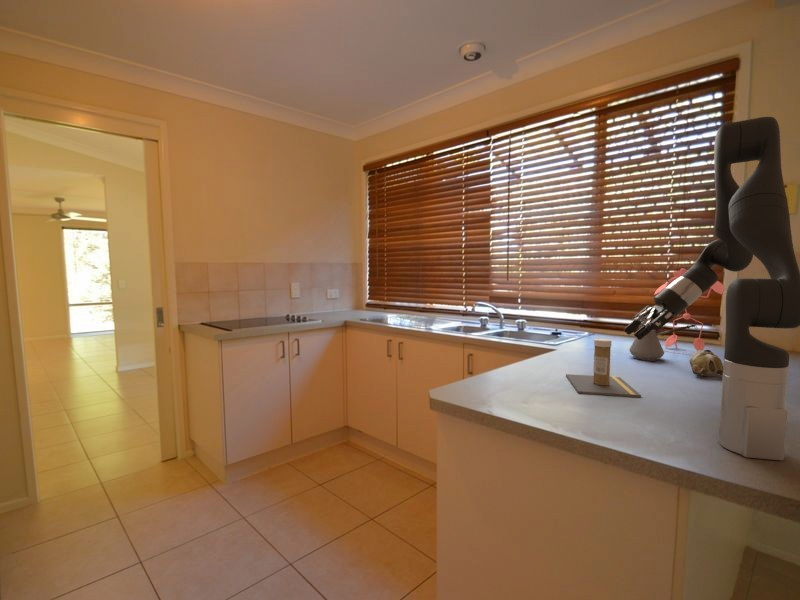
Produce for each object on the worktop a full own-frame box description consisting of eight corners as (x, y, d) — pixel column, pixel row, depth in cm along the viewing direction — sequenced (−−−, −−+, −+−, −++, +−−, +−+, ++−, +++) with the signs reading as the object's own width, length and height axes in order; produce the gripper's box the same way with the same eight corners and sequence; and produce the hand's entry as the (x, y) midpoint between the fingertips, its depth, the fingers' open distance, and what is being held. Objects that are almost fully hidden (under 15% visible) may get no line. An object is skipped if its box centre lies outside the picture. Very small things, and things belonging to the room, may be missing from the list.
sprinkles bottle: (612, 384, 117) (614, 339, 116) (604, 387, 114) (606, 341, 113) (597, 380, 121) (599, 337, 120) (589, 383, 118) (591, 338, 117)
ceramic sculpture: (719, 345, 134) (739, 357, 120) (717, 370, 135) (736, 384, 121) (682, 343, 137) (697, 355, 124) (680, 367, 139) (695, 381, 125)
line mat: (641, 397, 107) (641, 394, 107) (578, 393, 111) (578, 390, 111) (619, 379, 125) (619, 376, 125) (565, 376, 128) (566, 373, 128)
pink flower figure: (656, 344, 180) (661, 268, 177) (725, 355, 158) (731, 268, 155) (638, 348, 172) (642, 268, 169) (708, 359, 150) (714, 268, 147)
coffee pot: (624, 358, 153) (626, 319, 152) (635, 353, 161) (637, 317, 159) (690, 368, 137) (693, 326, 136) (699, 363, 144) (701, 323, 143)
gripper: (656, 285, 119) (613, 322, 122) (679, 288, 105) (630, 329, 108) (675, 303, 118) (631, 339, 121) (701, 308, 104) (650, 349, 107)
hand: (630, 334), depth 115 cm, fingers open, 8 cm apart
